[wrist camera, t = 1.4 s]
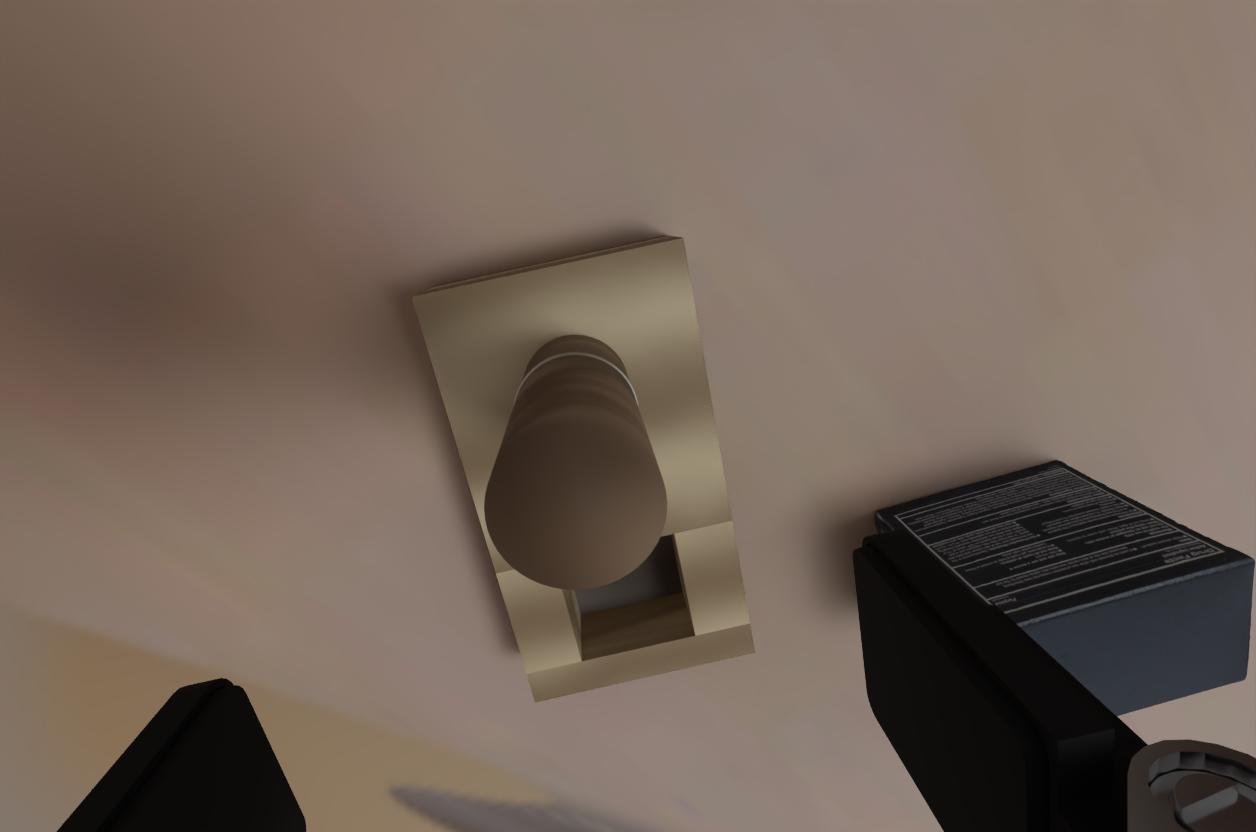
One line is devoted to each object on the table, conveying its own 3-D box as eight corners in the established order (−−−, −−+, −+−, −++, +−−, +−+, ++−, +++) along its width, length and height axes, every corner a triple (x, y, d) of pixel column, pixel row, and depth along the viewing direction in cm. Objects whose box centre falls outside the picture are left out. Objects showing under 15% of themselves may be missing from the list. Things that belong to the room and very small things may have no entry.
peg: (617, 323, 26) (649, 401, 15) (639, 425, 28) (683, 569, 16) (509, 346, 26) (459, 443, 15) (536, 447, 28) (509, 608, 16)
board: (432, 287, 29) (411, 296, 25) (669, 235, 29) (683, 237, 26) (539, 650, 35) (535, 702, 31) (735, 605, 35) (754, 652, 32)
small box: (887, 610, 36) (1006, 759, 26) (870, 509, 34) (991, 628, 24) (1068, 560, 36) (1256, 689, 26) (1061, 455, 34) (1261, 553, 24)
